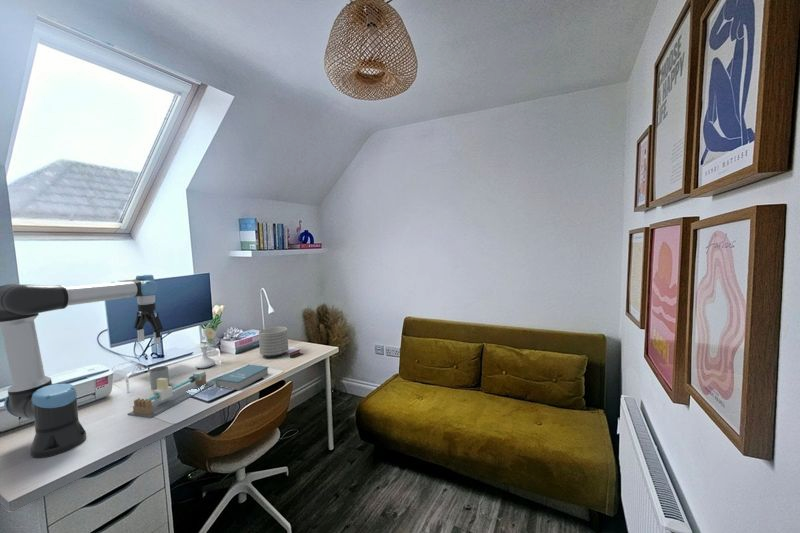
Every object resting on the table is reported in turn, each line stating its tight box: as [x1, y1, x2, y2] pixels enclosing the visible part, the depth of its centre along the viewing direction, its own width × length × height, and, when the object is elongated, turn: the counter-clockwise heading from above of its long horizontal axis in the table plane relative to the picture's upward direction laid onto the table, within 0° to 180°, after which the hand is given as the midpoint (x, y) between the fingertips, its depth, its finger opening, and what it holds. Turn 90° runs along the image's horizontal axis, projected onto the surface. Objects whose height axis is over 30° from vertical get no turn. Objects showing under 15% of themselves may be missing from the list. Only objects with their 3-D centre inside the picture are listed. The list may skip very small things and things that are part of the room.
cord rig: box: [127, 370, 215, 419], centre depth 165 cm, size 36×14×7 cm, turn 166°
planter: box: [258, 326, 289, 358], centre depth 229 cm, size 19×19×18 cm
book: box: [215, 364, 269, 391], centre depth 187 cm, size 23×16×5 cm
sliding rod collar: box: [152, 378, 173, 401], centre depth 159 cm, size 6×5×10 cm
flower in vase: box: [195, 327, 217, 369], centre depth 210 cm, size 13×11×25 cm
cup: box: [149, 365, 170, 390], centre depth 181 cm, size 8×8×10 cm
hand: (149, 342), depth 173 cm, fingers open, 13 cm apart
